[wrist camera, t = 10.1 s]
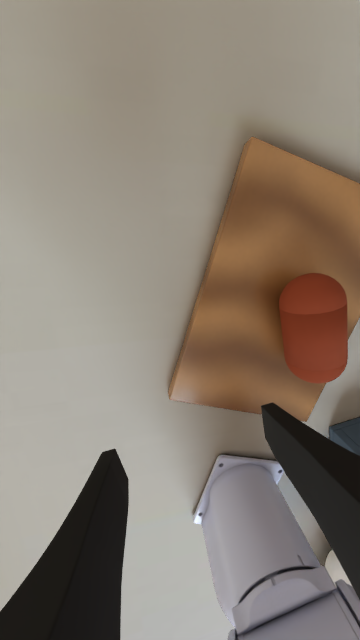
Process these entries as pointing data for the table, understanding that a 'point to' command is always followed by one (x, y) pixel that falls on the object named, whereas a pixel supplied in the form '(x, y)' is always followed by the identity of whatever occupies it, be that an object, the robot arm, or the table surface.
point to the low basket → (347, 435)
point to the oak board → (267, 281)
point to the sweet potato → (314, 327)
